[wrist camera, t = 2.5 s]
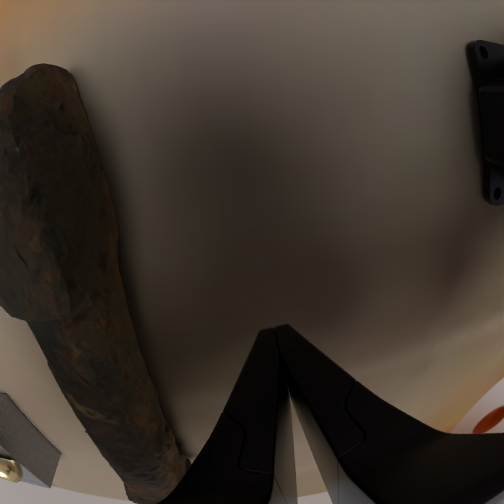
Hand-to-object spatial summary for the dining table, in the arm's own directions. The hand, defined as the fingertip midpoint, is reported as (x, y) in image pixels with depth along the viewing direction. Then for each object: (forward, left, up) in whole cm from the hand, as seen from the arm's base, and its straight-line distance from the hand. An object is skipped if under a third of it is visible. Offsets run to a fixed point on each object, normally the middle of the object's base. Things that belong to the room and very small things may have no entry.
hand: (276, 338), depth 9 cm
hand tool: (+7, 0, -2) cm, 7 cm away
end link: (+18, +6, -2) cm, 19 cm away
